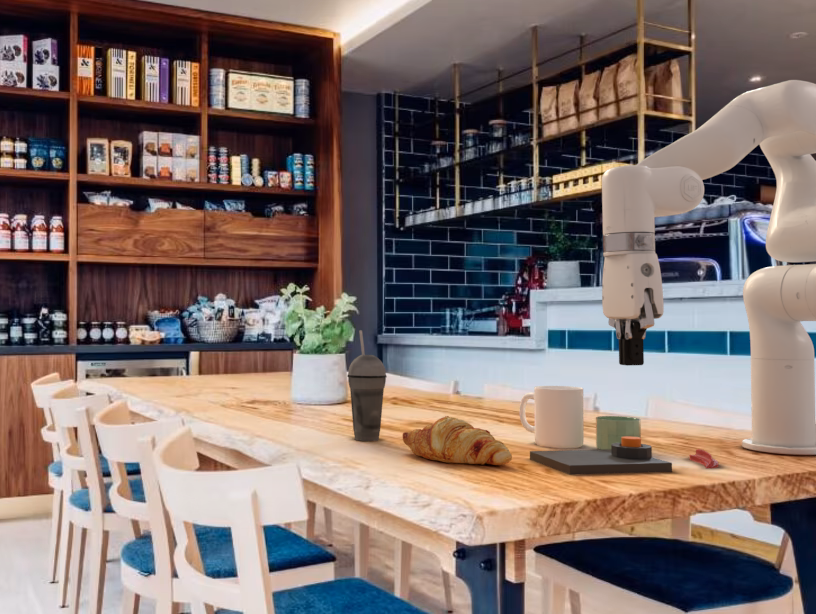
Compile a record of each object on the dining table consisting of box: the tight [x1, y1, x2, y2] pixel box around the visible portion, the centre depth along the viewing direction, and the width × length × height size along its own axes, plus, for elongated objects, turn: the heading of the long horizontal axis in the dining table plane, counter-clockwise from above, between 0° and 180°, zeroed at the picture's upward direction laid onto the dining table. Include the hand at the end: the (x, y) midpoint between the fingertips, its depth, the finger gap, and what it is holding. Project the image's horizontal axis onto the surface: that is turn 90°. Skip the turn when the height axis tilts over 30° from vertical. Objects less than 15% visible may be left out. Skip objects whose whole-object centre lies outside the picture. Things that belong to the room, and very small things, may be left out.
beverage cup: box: [347, 329, 387, 442], centre depth 153 cm, size 7×7×20 cm
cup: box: [519, 385, 585, 449], centre depth 148 cm, size 8×12×10 cm
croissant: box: [402, 415, 513, 466], centre depth 130 cm, size 21×10×8 cm, turn 42°
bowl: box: [595, 415, 642, 450], centre depth 140 cm, size 7×7×6 cm
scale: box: [529, 443, 673, 476], centre depth 126 cm, size 16×13×3 cm
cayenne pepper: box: [688, 448, 719, 470], centre depth 129 cm, size 12×5×2 cm, turn 149°
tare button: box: [621, 436, 642, 447], centre depth 127 cm, size 3×3×2 cm
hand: (631, 364), depth 128 cm, fingers closed
